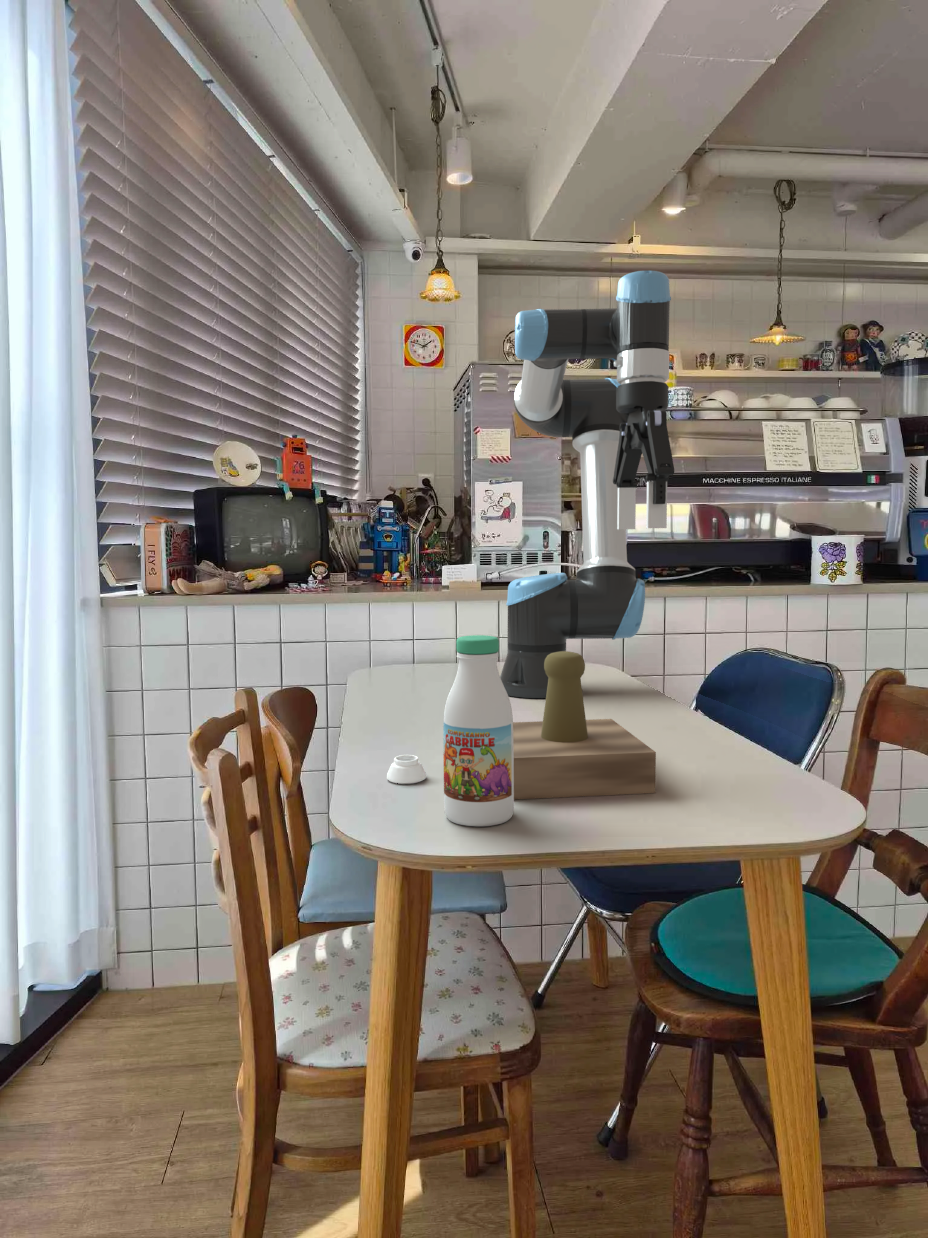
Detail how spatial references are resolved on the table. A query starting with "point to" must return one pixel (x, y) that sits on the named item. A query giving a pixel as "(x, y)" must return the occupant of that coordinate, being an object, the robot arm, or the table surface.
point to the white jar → (406, 770)
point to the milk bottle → (478, 738)
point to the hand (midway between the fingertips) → (640, 529)
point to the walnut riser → (581, 763)
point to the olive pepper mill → (564, 698)
